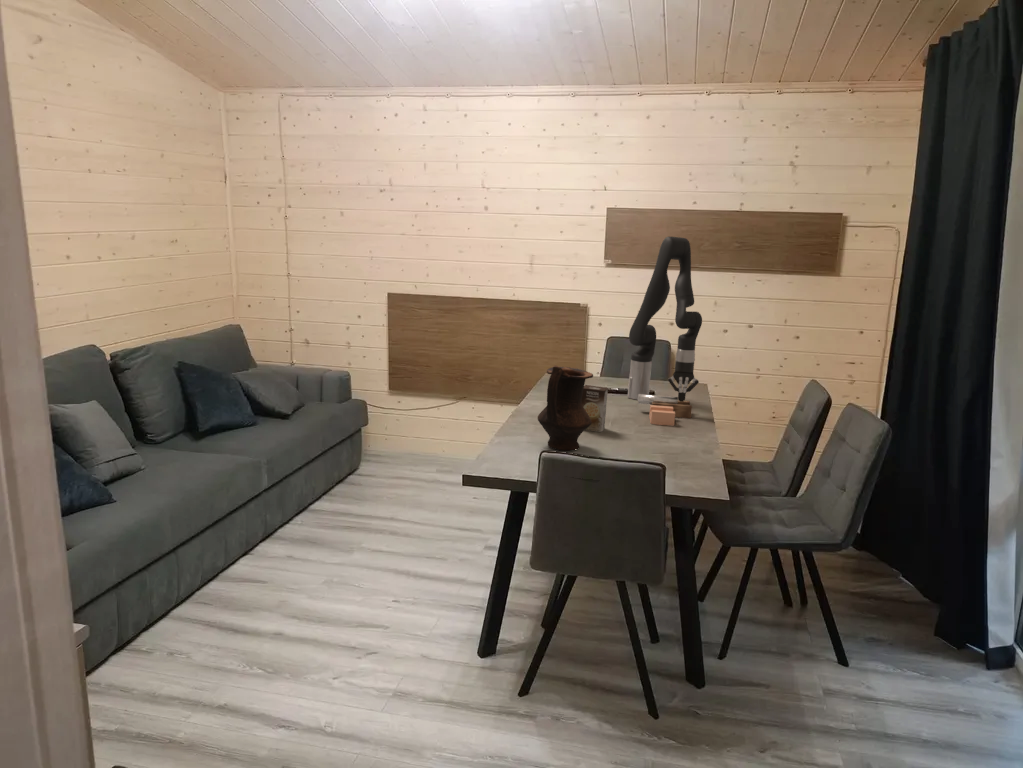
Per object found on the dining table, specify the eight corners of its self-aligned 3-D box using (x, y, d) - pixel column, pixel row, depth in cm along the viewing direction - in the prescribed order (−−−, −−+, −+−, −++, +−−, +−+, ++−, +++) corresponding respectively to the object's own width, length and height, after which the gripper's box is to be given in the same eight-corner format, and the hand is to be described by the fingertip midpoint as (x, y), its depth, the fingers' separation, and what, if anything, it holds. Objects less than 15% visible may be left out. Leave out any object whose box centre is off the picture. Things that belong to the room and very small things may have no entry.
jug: (551, 435, 264) (556, 354, 257) (598, 445, 255) (604, 361, 249) (522, 449, 246) (527, 362, 239) (572, 460, 237) (578, 370, 231)
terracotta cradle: (650, 423, 286) (651, 411, 285) (649, 416, 297) (650, 405, 296) (674, 425, 285) (675, 413, 284) (671, 418, 296) (672, 406, 295)
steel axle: (637, 404, 302) (638, 394, 301) (637, 402, 306) (638, 393, 305) (677, 407, 300) (677, 397, 299) (676, 405, 304) (677, 396, 303)
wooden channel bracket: (651, 415, 300) (652, 403, 298) (649, 409, 308) (650, 398, 307) (690, 418, 298) (691, 406, 297) (688, 412, 306) (689, 401, 305)
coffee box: (577, 429, 274) (580, 387, 271) (581, 425, 280) (584, 384, 276) (601, 432, 271) (604, 390, 268) (605, 428, 277) (608, 387, 274)
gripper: (700, 359, 300) (696, 400, 304) (667, 357, 302) (664, 398, 306) (702, 362, 293) (698, 404, 297) (669, 360, 295) (665, 402, 298)
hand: (681, 401), depth 301 cm, fingers closed
